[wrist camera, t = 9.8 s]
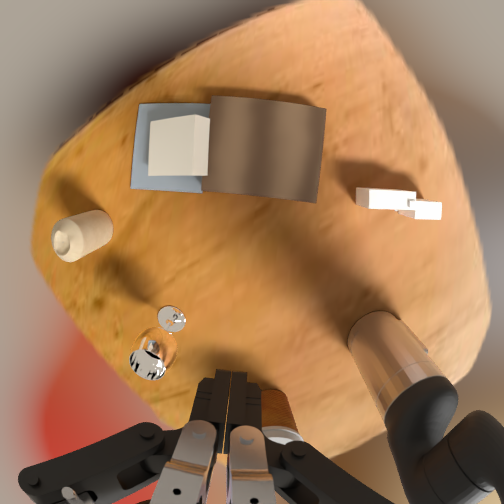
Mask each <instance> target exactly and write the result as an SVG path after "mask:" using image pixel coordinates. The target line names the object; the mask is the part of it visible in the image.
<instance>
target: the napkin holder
mask: <svg viewBox="0 0 504 504" xmlns="http://www.w3.org/2000/svg"><path fill="white" fill-rule="evenodd" d="M356 205H359V206H362V207H365V208H368V209H395V211H398V214H401V215H404V216H407V217H410V218H414V219H435V220H441V210H442V202H437V201H432V200H427V199H416V192H413V191H406V190H398V189H380V188H357V187H356Z"/></svg>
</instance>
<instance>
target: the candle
mask: <svg viewBox="0 0 504 504" xmlns="http://www.w3.org/2000/svg"><path fill="white" fill-rule="evenodd" d="M112 235H113V223H112V220H111V218H110V217H109V215H108V214H107V213H105V212H104V211H101V210H92V211H88V212H85V213H81V214H78V215H74V216H71V217H67V218H64V219H61V220H59V221H58V222H57V223H56V224H55V225H54V227H53V230H52V235H51V240H52V245H53V248H54V250H55V252H56V254H57V255H58V256H59V257H60V258H61V259H62V260H64V261H66V262H74V261H76V260H78V259H80V258H81V257H83V256H85V255H87V254H89V253H91V252H92V251H94V250H96V249H98V248H100V247H102V246H104V245H105V244H107V243H108V242H109V241H110V239H111V238H112Z"/></svg>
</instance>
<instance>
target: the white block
mask: <svg viewBox="0 0 504 504" xmlns="http://www.w3.org/2000/svg"><path fill="white" fill-rule="evenodd" d="M209 128H210V119H209V118H206V117H203V116H199V115H196V114H194V115H187V116H180V117H174V118H168V119H162V120H156V121H151V123H150V140H149V164H148V176H207V175H208V149H209Z"/></svg>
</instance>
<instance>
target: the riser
mask: <svg viewBox="0 0 504 504" xmlns="http://www.w3.org/2000/svg"><path fill="white" fill-rule="evenodd" d="M209 119H210V128H209V149H208V175H207V176H202V185H201V191H210V192H222V193H232V194H242V195H252V196H261V197H270V198H279V199H287V200H295V201H303V202H310V203H316V201H317V193H318V185H319V177H320V168H321V160H322V150H323V141H324V130H325V119H326V109H325V108H320V107H314V106H308V105H302V104H296V103H289V102H281V101H274V100H265V99H255V98H244V97H231V96H212V97H211V104H210V112H209Z"/></svg>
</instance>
